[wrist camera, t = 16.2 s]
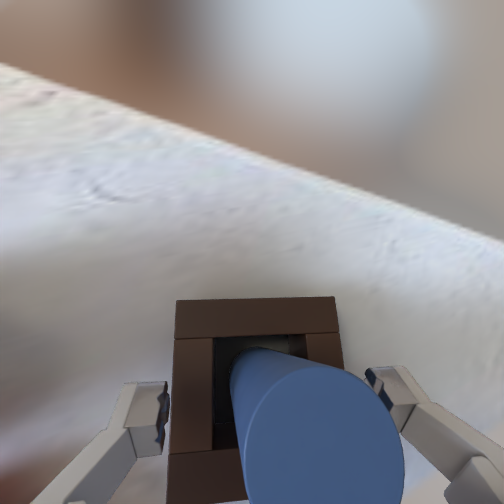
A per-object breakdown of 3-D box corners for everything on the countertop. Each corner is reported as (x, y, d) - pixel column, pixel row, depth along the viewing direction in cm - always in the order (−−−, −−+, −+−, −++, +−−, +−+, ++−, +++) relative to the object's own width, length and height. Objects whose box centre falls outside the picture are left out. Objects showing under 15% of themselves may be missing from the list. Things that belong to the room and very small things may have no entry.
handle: (285, 405, 16) (423, 555, 5) (228, 409, 16) (244, 583, 5) (281, 345, 18) (387, 362, 6) (228, 348, 17) (240, 369, 6)
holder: (328, 451, 16) (361, 486, 12) (179, 465, 15) (165, 509, 11) (312, 304, 19) (335, 296, 15) (185, 308, 18) (175, 300, 14)
